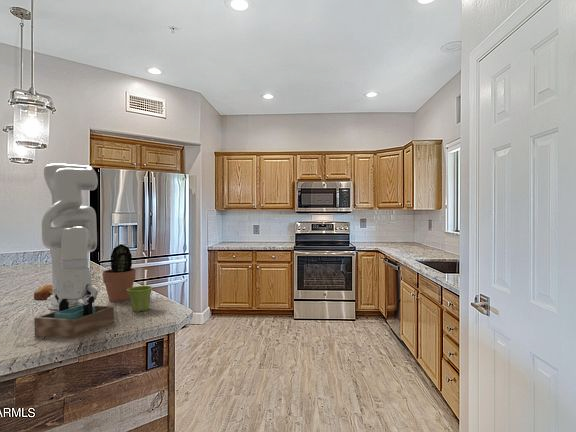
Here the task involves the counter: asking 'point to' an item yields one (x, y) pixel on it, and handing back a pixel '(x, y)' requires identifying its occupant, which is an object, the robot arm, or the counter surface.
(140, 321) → the counter surface
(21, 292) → the counter surface
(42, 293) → the bread roll
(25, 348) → the counter surface
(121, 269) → the potted plant
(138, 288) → the plant pot
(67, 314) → the box
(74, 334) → the crate large
